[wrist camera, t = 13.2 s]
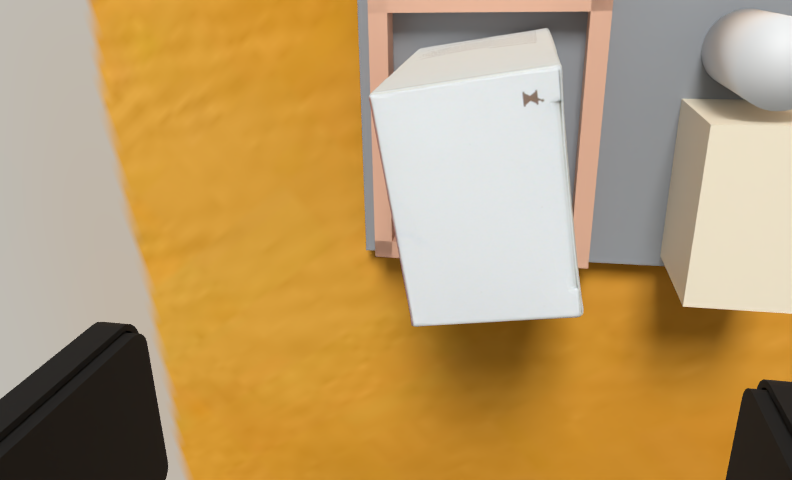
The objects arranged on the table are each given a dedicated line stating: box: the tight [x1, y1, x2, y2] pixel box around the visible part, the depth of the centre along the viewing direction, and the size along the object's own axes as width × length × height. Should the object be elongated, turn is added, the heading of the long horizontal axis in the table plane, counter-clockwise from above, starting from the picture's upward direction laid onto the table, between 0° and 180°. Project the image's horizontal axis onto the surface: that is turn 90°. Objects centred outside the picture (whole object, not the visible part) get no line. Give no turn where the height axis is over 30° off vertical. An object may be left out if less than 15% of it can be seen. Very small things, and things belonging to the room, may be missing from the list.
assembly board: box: [357, 0, 792, 313], centre depth 28 cm, size 18×12×6 cm, turn 91°
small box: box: [369, 28, 583, 327], centre depth 25 cm, size 8×6×10 cm
